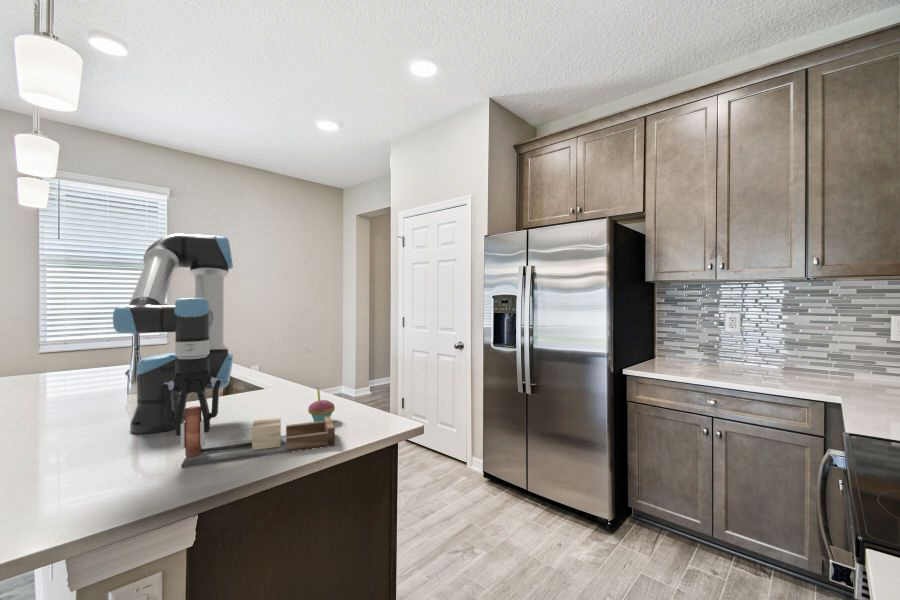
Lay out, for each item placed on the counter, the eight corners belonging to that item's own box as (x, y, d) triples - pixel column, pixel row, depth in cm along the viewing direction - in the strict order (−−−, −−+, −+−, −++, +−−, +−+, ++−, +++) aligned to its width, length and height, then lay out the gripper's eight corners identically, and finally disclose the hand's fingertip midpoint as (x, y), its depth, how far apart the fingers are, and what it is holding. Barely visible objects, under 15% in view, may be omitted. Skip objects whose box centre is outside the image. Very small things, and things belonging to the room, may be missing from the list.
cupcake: (326, 426, 129) (326, 389, 129) (302, 425, 130) (302, 388, 130) (339, 418, 137) (338, 384, 137) (316, 417, 139) (316, 383, 139)
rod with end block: (188, 449, 107) (188, 405, 107) (280, 438, 116) (280, 396, 116) (182, 459, 100) (181, 412, 100) (280, 446, 109) (280, 402, 109)
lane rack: (192, 450, 109) (191, 431, 109) (330, 432, 123) (330, 416, 123) (181, 467, 98) (181, 447, 98) (334, 445, 112) (334, 428, 112)
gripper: (149, 361, 97) (150, 456, 98) (227, 356, 104) (227, 446, 104) (158, 356, 104) (159, 445, 105) (230, 353, 111) (231, 436, 111)
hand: (193, 445), depth 104 cm, fingers closed on rod with end block, 4 cm apart
